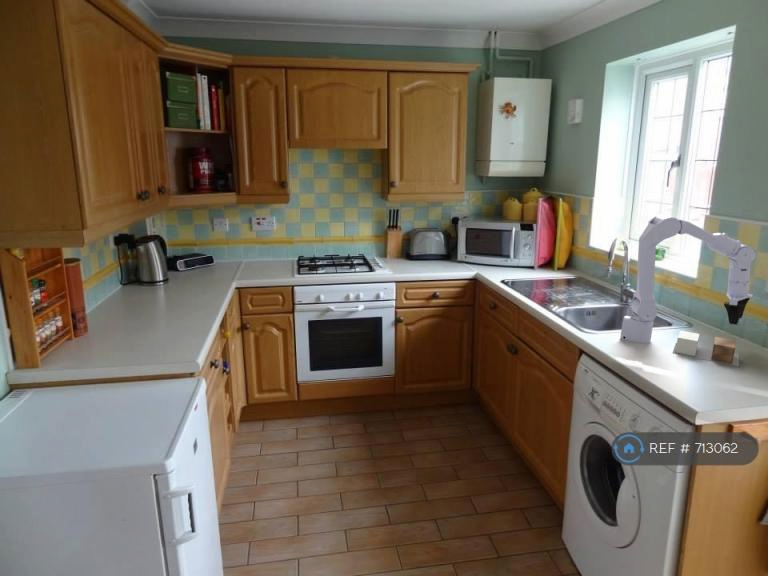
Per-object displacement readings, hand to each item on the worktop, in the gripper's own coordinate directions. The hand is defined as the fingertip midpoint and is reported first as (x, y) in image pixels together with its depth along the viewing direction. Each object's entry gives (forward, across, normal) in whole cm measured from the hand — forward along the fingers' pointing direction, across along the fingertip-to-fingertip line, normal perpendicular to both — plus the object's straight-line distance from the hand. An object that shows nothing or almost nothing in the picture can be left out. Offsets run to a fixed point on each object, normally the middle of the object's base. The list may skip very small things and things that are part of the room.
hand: (735, 320), depth 177 cm
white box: (+7, -16, +11) cm, 20 cm away
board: (+9, -15, +5) cm, 18 cm away
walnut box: (+8, -14, +1) cm, 17 cm away
